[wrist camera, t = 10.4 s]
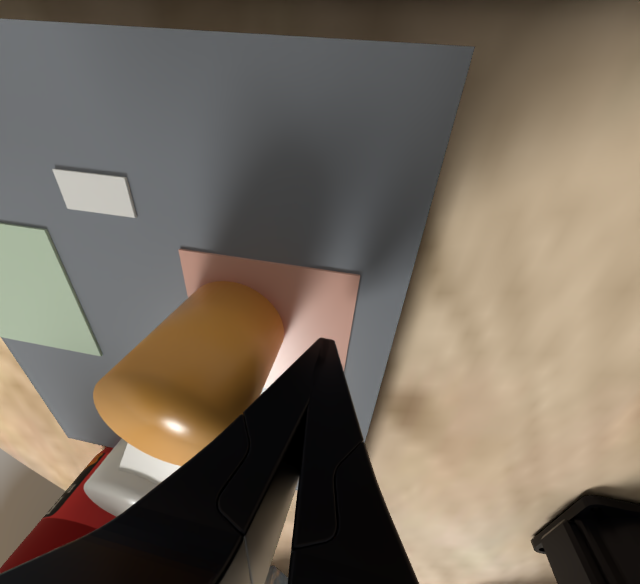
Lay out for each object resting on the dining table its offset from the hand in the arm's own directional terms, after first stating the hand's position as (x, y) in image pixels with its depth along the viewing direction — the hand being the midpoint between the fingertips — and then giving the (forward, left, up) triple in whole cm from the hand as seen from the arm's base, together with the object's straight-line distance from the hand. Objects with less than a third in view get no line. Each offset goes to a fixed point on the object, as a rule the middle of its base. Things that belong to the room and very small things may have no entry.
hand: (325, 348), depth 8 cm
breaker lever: (+6, +5, -1) cm, 8 cm away
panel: (+7, +3, -3) cm, 8 cm away
